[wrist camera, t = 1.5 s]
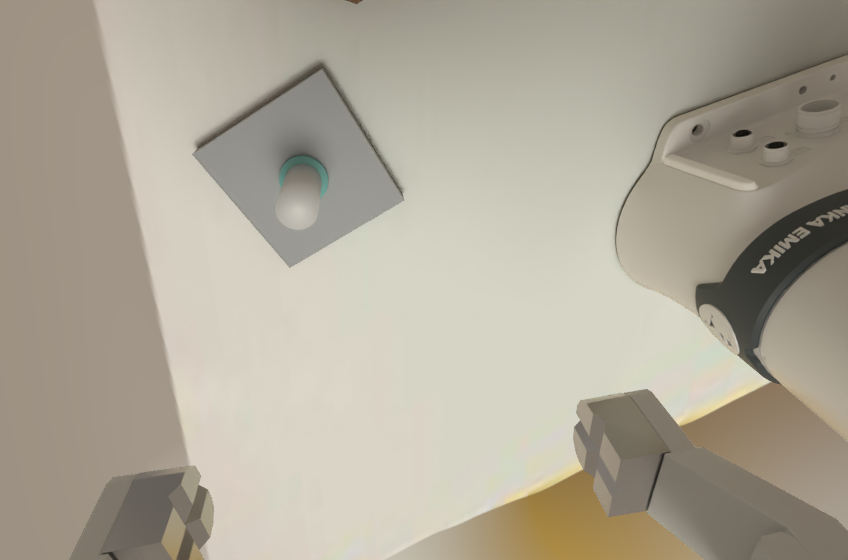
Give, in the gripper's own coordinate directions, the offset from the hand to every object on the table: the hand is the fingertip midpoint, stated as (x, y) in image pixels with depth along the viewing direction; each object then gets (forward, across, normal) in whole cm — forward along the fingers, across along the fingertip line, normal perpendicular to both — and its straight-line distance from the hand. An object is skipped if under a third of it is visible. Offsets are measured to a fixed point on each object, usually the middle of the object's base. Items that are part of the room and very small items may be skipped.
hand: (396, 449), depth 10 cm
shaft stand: (+26, +4, +2) cm, 27 cm away
